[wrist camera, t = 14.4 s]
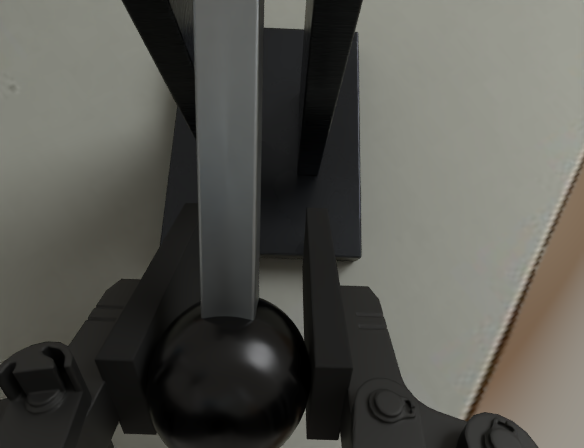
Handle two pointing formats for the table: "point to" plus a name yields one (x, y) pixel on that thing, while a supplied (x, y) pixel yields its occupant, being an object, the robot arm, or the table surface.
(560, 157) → the table surface
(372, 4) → the table surface
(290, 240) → the switch bracket
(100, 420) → the robot arm
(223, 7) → the lever
